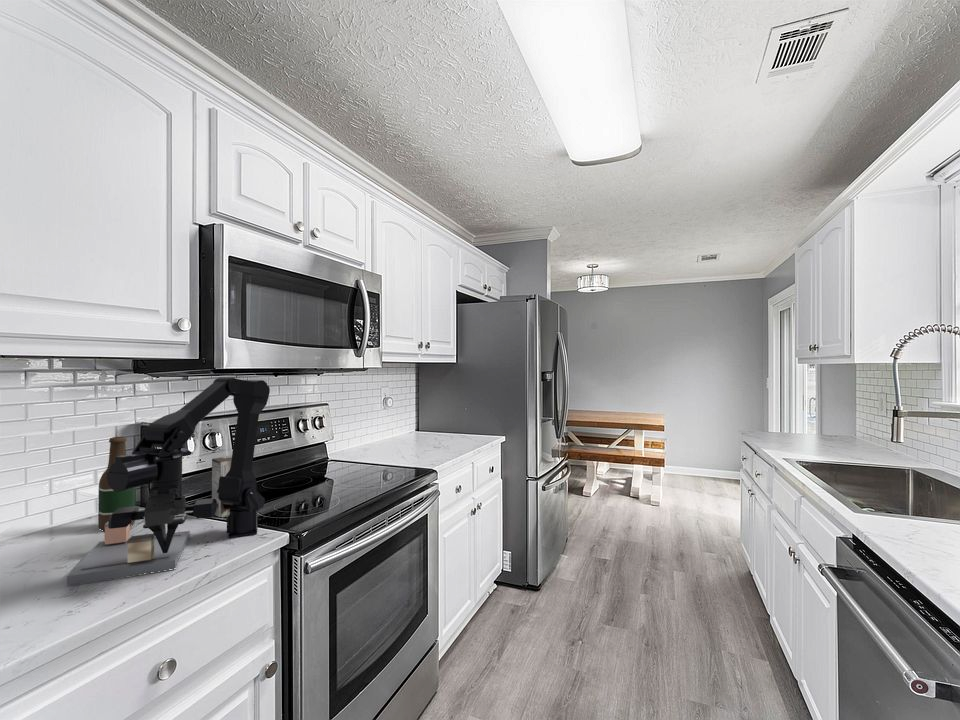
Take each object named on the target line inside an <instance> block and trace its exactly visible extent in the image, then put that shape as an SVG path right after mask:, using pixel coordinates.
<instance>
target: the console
mask: <svg viewBox="0 0 960 720" xmlns="http://www.w3.org/2000/svg"><path fill="white" fill-rule="evenodd" d="M190 532H191V531H190V530H187V531H186V530H185V531H175V534H174V536H173V539H172V542H171V545H170V547H169V550H168V552H167V553H163V552H162V550H161V547H160V545H159V543H158V540H157V538H156V536H154V555H153V557H152V559H151V560H146V561H139V562H131V563H128V544H127V541H128V540H129V539H130V538H131V537H130V538H129V539H128V540H127V541H126V542H121V543H113V544H105V540H103V541H99V542H98V543H97V544H96V545H94V547H93V548H92V549H91V550H90V551H89V552H88V554H86V555H85V556H84V557H83V558H82V559H81V561H80V562H79V563H78V564H77V565H76V566H75V567H74V568H73V569H71V571H70V572H69V573H68V574H67V575H66V587H71V586H77V585H84V584H91V583H96V582H104V580H105V581H109V580H110V579H111V580H116V579H115V578H118V579H122V578H121V577H124V578H128V577H127V576H131V577H134V576H133V575H138V576H140V575H139V574H144V573H151V572H157V573H159V572H158V571H164V570H169V569H174V568H176V569H177V567H178V565H177V563H178V562H180V561H179V559H180V560H181V558H182V556H183V554H184V552H185V550H186V548H185V547H187V546H186V545H188V543H189V541H190V539H189V538H190V536H191V535H190V534H191V533H190ZM166 536H167V533H166ZM188 540H189V541H188ZM184 549H185V550H184ZM183 551H184V552H183ZM182 553H183V554H182ZM181 555H182V556H181ZM180 557H181V558H180ZM178 564H179V563H178ZM176 566H177V567H176ZM164 572H165V571H164ZM151 574H152V573H151ZM144 575H145V574H144Z"/></svg>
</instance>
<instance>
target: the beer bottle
mask: <svg viewBox="0 0 960 720" xmlns="http://www.w3.org/2000/svg"><path fill="white" fill-rule="evenodd" d="M126 441H128V440H127V438H126V436H121V435H120V436H112V437H110V438H109V440H108V443H109V453H108V454H109V455H108V463H107V468H106V469H105V471H103V473H102V474H101V477H100V479H99V481H98V495H97V496H98V497H97V498H98V503H97V505H98V506H97V507H98V511H97V513H98V515H97V516H98V517H97V518H98V519H97V524H98V530H99V529H101V530H103V531H105V527H104V525H105V524H106V523H107V522H108V520H109V516H111V515H112V514H113V513H114V512H115V511H116V510H117V509H118V508H122V507H131V506H136V488H137V487H136V488H132V489H128V490H124V491H120V492H116V491H114V490H112V489H111V488H110V486H109V484H108V481H107V473H108V472H109V469H110V467H111V465H112V464H114V463H115V457H116V456H122V455H124V456H127V449H126V448H127V447H126ZM135 522H136V520H132V522H131V523H130V526H131V525H132V526H134V525H135ZM133 524H134V525H133ZM132 526H131V527H132ZM101 530H100V531H101ZM103 531H102V532H103Z"/></svg>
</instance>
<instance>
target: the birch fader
mask: <svg viewBox="0 0 960 720" xmlns="http://www.w3.org/2000/svg"><path fill="white" fill-rule="evenodd" d="M154 536H155V535H154V533H146V534H140V535H139V534H138V535H130V539H129V540H128V541H127V544H128V563H131V562H139V561H146V560H151V559H152V557H153V555H154Z"/></svg>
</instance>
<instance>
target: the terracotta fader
mask: <svg viewBox="0 0 960 720" xmlns="http://www.w3.org/2000/svg"><path fill="white" fill-rule="evenodd" d="M104 527H105V532H104V541H105V544H113V543H121V542H126V541H127V540H128V539H129V538H131V527H130V524H129V525H128V526H127V527H122V528H113V529H109V528H108V522H107V523H106V524H105V525H104Z"/></svg>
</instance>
